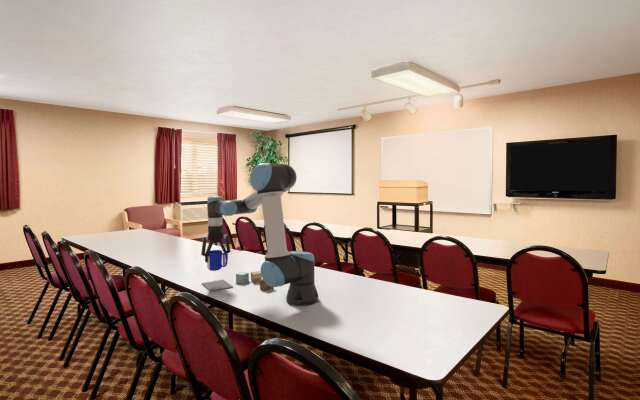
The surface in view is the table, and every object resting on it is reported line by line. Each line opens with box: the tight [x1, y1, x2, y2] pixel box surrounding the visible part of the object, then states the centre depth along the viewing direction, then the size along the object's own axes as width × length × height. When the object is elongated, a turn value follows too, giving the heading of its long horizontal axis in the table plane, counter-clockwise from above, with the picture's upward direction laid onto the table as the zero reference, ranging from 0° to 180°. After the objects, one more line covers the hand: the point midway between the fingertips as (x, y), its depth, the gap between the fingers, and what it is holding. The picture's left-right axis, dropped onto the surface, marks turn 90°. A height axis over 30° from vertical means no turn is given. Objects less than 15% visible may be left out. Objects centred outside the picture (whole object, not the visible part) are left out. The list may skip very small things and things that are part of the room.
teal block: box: [235, 271, 250, 285], centre depth 201 cm, size 5×5×5 cm
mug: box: [208, 249, 229, 272], centre depth 194 cm, size 8×12×10 cm
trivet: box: [201, 279, 234, 293], centre depth 194 cm, size 16×12×1 cm
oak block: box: [250, 270, 263, 284], centre depth 202 cm, size 5×5×5 cm
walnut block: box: [259, 278, 274, 291], centre depth 188 cm, size 5×5×5 cm
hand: (216, 267), depth 194 cm, fingers closed on mug, 8 cm apart
